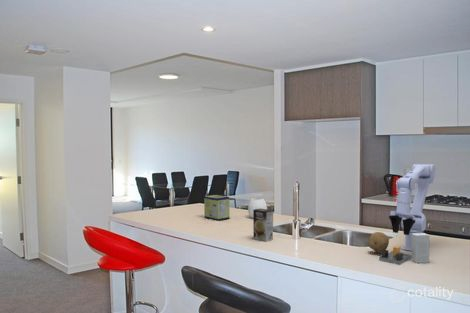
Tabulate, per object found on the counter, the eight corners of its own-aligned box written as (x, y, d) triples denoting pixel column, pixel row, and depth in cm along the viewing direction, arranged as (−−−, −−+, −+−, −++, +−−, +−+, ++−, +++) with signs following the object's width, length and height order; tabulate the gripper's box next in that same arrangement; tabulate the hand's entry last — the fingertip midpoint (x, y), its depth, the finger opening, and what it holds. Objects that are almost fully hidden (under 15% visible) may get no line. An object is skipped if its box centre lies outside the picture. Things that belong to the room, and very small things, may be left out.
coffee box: (252, 239, 218) (252, 209, 217) (260, 237, 223) (260, 208, 222) (266, 241, 212) (266, 211, 211) (273, 239, 216) (273, 209, 216)
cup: (249, 216, 288) (249, 197, 288) (267, 216, 286) (267, 197, 286) (247, 219, 275) (247, 199, 275) (266, 219, 273) (266, 200, 273)
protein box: (215, 216, 289) (215, 194, 288) (230, 219, 277) (229, 196, 277) (203, 218, 282) (203, 196, 281) (218, 221, 270) (218, 198, 270)
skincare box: (424, 260, 176) (424, 232, 176) (429, 262, 172) (429, 235, 172) (410, 260, 176) (411, 233, 176) (415, 263, 172) (415, 235, 172)
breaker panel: (392, 254, 185) (392, 246, 185) (411, 258, 179) (412, 249, 179) (379, 260, 176) (379, 251, 176) (399, 264, 170) (399, 255, 170)
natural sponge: (374, 256, 182) (374, 234, 182) (364, 251, 191) (364, 230, 191) (392, 255, 184) (392, 233, 184) (381, 250, 193) (381, 229, 193)
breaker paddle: (395, 253, 180) (395, 246, 180) (400, 254, 179) (400, 246, 179) (392, 255, 178) (392, 247, 178) (397, 255, 177) (397, 248, 176)
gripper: (401, 201, 176) (398, 232, 174) (421, 206, 184) (418, 236, 181) (387, 200, 183) (384, 230, 180) (407, 206, 190) (405, 235, 187)
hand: (400, 233), depth 181 cm, fingers open, 7 cm apart
